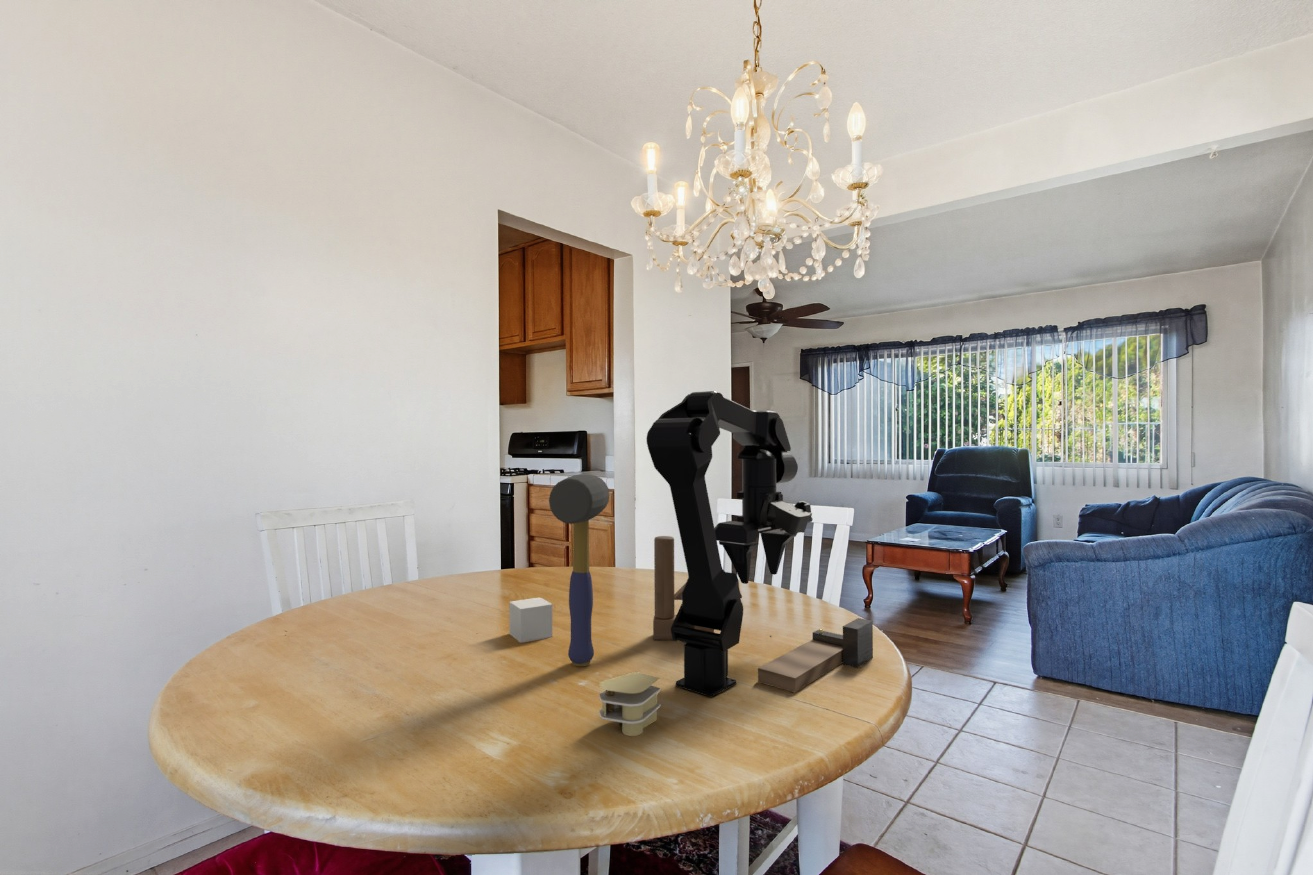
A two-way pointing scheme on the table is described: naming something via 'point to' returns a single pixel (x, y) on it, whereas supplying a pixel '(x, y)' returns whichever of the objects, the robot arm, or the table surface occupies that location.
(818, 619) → the table surface
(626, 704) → the toy house
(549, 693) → the table surface
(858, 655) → the marking gauge
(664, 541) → the brown post on base
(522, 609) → the grey cube
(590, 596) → the rubber mallet
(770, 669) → the walnut board
